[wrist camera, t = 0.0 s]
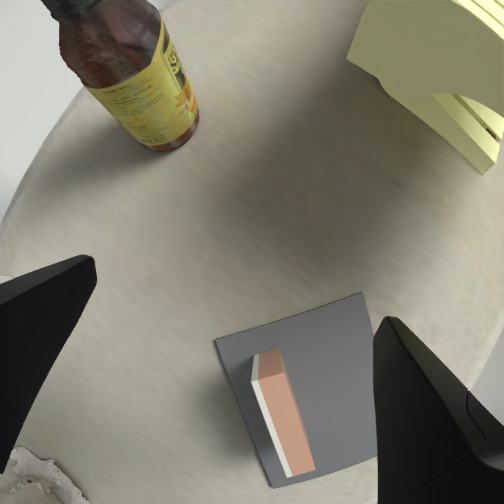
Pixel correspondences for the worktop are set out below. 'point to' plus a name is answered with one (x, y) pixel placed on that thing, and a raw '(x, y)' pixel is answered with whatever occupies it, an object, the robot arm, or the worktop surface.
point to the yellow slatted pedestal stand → (441, 67)
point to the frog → (39, 482)
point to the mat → (313, 384)
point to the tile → (281, 412)
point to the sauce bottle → (129, 67)
